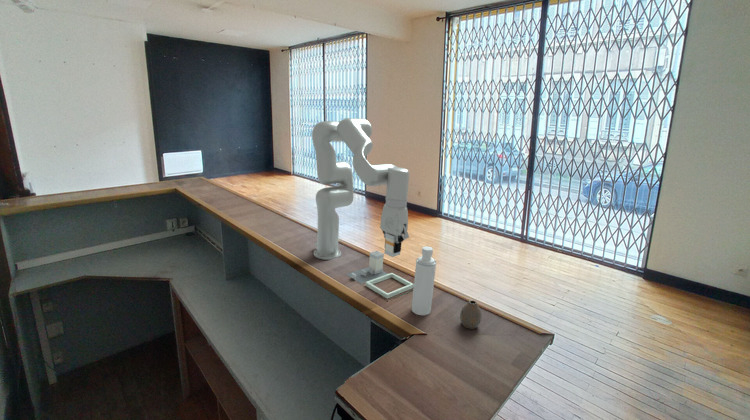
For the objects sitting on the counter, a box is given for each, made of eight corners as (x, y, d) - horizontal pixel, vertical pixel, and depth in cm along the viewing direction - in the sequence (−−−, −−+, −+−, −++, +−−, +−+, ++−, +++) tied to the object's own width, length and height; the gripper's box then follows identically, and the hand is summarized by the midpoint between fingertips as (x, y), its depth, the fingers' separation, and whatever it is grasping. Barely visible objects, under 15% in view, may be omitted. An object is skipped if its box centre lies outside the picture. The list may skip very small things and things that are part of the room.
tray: (365, 289, 143) (365, 282, 143) (391, 279, 153) (391, 272, 152) (386, 302, 135) (387, 294, 134) (413, 291, 144) (413, 284, 143)
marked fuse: (384, 253, 140) (385, 233, 137) (392, 251, 142) (393, 231, 140) (392, 257, 137) (393, 236, 134) (400, 254, 139) (401, 234, 137)
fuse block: (345, 277, 151) (345, 269, 150) (372, 268, 161) (373, 261, 160) (360, 287, 144) (361, 279, 143) (388, 277, 154) (389, 269, 153)
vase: (456, 327, 123) (459, 303, 120) (462, 317, 128) (465, 294, 126) (476, 334, 119) (480, 310, 117) (482, 324, 125) (486, 300, 123)
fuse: (368, 270, 156) (369, 252, 153) (375, 268, 158) (377, 250, 156) (375, 274, 153) (376, 256, 150) (382, 271, 155) (383, 254, 153)
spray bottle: (434, 313, 130) (442, 246, 123) (417, 317, 127) (424, 248, 120) (424, 304, 135) (431, 239, 128) (408, 307, 133) (414, 241, 126)
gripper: (372, 198, 137) (370, 245, 142) (406, 209, 126) (401, 260, 131) (387, 196, 142) (384, 241, 147) (420, 206, 131) (416, 255, 136)
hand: (392, 249), depth 139 cm, fingers closed on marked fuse, 4 cm apart
